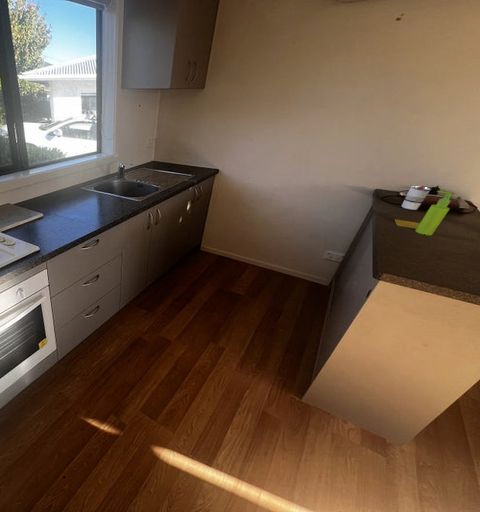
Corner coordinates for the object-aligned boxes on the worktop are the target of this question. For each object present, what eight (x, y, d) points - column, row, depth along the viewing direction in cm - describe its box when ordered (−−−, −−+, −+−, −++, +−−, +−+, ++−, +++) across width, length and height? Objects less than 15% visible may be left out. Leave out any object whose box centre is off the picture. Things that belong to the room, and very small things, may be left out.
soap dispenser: (413, 228, 143) (438, 188, 132) (432, 232, 138) (460, 192, 128) (411, 231, 139) (437, 191, 129) (431, 236, 135) (459, 195, 125)
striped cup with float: (423, 211, 164) (436, 190, 158) (406, 209, 166) (418, 189, 160) (411, 205, 173) (423, 185, 167) (395, 204, 174) (406, 184, 168)
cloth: (426, 224, 147) (426, 224, 147) (430, 231, 140) (430, 230, 140) (394, 219, 153) (394, 219, 153) (396, 225, 146) (397, 225, 146)
